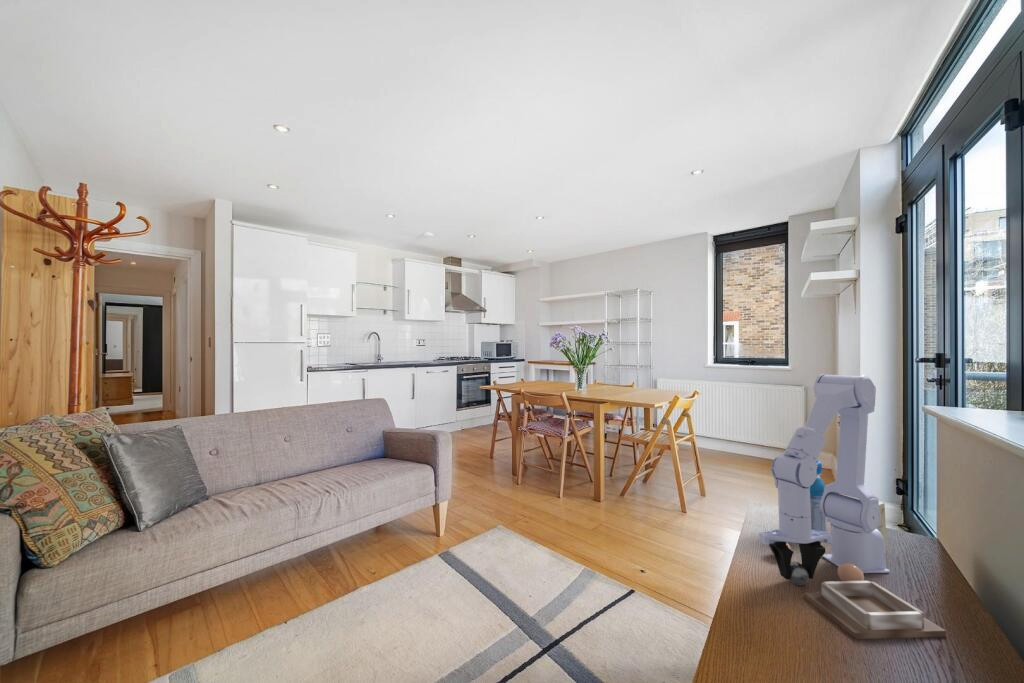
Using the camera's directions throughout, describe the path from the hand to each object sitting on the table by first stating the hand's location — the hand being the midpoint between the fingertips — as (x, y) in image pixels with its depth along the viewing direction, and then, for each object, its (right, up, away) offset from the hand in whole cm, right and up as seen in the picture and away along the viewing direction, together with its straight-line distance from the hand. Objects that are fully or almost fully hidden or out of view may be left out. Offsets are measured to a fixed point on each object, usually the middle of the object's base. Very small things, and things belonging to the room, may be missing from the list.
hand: (796, 576), depth 88 cm
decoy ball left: (+11, +1, -1) cm, 11 cm away
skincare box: (+28, -2, +13) cm, 31 cm away
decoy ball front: (+4, 0, +11) cm, 12 cm away
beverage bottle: (+20, -2, +23) cm, 31 cm away
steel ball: (0, +1, 0) cm, 1 cm away
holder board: (+6, -1, -11) cm, 13 cm away
